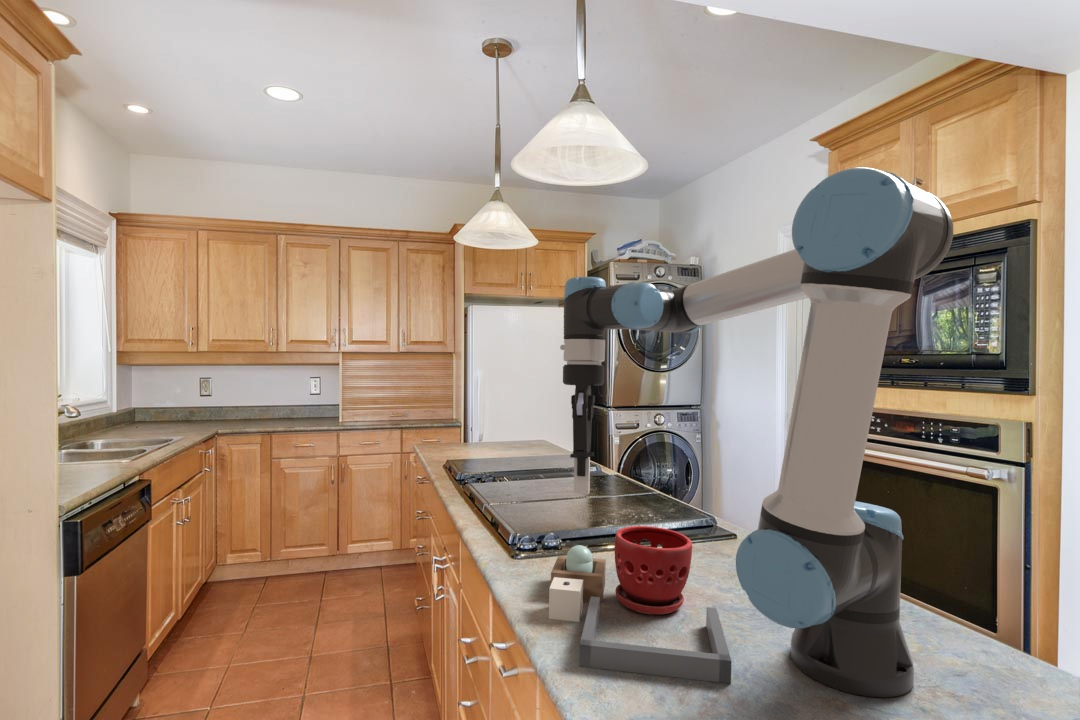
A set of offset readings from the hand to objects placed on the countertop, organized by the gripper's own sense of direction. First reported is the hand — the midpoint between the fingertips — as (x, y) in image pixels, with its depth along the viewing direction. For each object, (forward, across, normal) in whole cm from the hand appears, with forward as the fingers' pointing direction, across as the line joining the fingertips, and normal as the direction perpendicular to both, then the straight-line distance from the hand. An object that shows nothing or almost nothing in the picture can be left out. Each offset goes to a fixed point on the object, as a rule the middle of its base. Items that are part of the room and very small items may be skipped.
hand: (581, 492), depth 106 cm
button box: (+18, 0, 0) cm, 18 cm away
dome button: (+17, 0, 0) cm, 17 cm away
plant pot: (+18, +3, +13) cm, 22 cm away
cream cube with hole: (+18, +10, -1) cm, 21 cm away
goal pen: (+18, +17, +13) cm, 28 cm away
